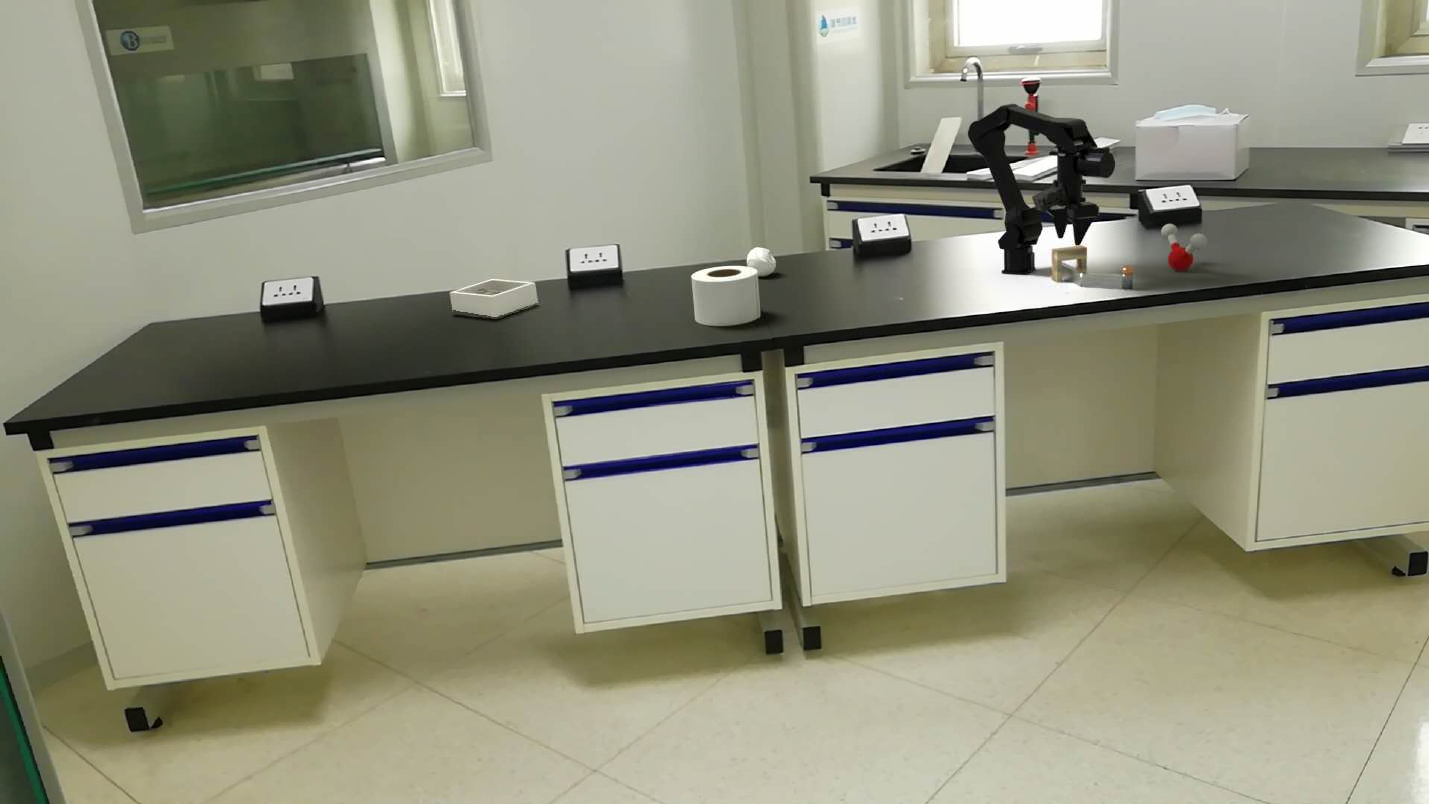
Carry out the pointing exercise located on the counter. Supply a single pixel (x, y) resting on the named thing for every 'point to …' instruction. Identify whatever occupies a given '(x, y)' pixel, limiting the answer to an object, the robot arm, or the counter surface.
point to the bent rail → (1099, 278)
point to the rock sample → (487, 291)
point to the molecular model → (1182, 248)
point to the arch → (1068, 254)
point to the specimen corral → (494, 297)
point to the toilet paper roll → (726, 295)
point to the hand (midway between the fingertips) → (1068, 241)
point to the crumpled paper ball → (761, 261)
